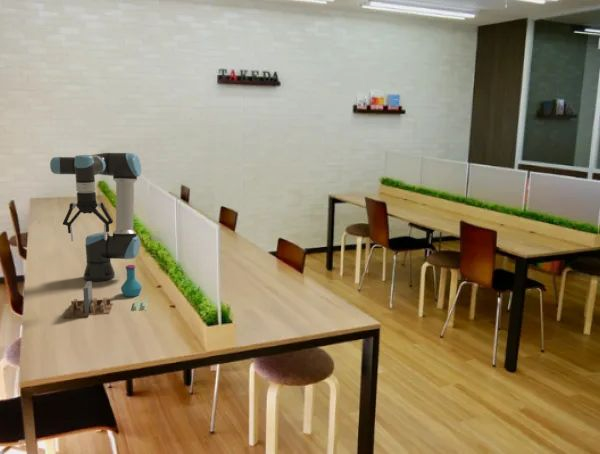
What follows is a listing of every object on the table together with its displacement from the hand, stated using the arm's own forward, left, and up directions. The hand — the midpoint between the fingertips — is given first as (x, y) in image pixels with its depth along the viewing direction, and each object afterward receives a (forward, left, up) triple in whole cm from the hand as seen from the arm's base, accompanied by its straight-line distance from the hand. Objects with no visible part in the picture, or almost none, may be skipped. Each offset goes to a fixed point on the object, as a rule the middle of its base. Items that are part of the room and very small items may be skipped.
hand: (89, 240), depth 240 cm
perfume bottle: (-9, +16, -30) cm, 35 cm away
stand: (+8, +21, -29) cm, 37 cm away
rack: (+10, 0, -29) cm, 31 cm away
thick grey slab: (+10, 0, -28) cm, 30 cm away
